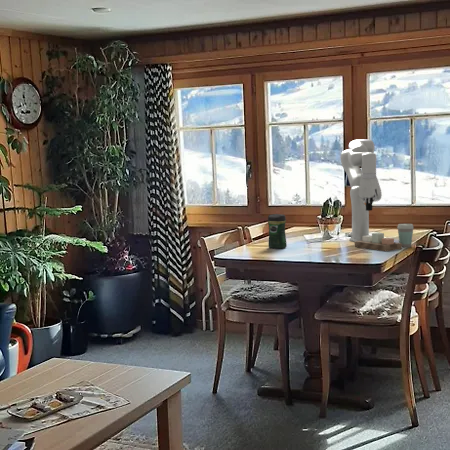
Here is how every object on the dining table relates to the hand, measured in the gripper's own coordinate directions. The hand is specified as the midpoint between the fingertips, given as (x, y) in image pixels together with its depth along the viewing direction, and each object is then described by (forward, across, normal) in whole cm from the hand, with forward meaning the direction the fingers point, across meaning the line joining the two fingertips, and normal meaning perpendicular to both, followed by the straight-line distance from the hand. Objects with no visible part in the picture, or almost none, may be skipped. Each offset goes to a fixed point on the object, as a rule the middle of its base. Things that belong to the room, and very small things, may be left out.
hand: (369, 210), depth 361 cm
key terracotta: (+19, +14, -1) cm, 24 cm away
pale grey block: (+19, 0, -1) cm, 19 cm away
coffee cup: (+20, +15, +12) cm, 27 cm away
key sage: (+17, +7, -1) cm, 18 cm away
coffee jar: (+20, -30, -39) cm, 53 cm away
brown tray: (+20, +7, -1) cm, 21 cm away
